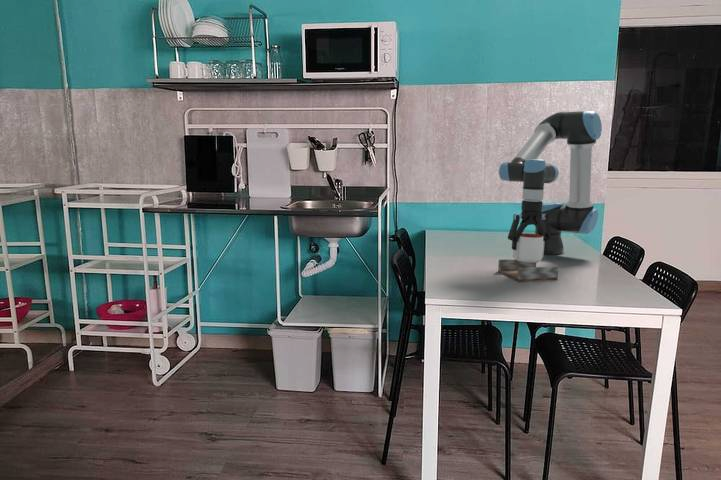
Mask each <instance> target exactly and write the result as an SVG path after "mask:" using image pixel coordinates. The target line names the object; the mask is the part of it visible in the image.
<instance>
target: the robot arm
mask: <svg viewBox="0 0 721 480" xmlns="http://www.w3.org/2000/svg"><path fill="white" fill-rule="evenodd" d="M602 126H603V125H602V120H601V117H600V115H599V113H597V112H596V111H591V110H590V111H588V110H583V111H582V110H580V111H579V110H578V111H577V110H576V111H575V110H574V111H560V112H555V113H553V114H551V115H549V116H547V117H546V118H544V119H543V120H542V121H541V122H539V124H538V125H536V126H535V129H534V131H533V134H532V136H531V137H530V138H529V139H528V141H527V142H526V143H525V144H524V145H523V147H522V148H521V149H520V150H519V151H518V153H517V154H516V155H515V156H514V158H512V160H511V161H505V162H502V163H501V164H500V166H499V168H498V175H499V178H500V180H502V181H506V182H517V183H519V182H521V183H523V184H522V195H521V196H522V197H521V199H523V200H521V206H520V207H521V212H520V214H513V218H512V219H513V220H512V223H511V226H510V229H509V233H508V235H507V240H510V241H511V250H512V251H513V252H512V259H518V255H519V242H518V239H519V238H520V236H521V234H522V233H523V232H524V231H525V230H526V228H527V227H528V226H531V225H532V226H535V229H534V234H538V235H542V236H543V249H542V259H543V258H544V255H562V254H564V249H565V247H564V244H563V240H562V232H564V233H574V234H579V235H581V234H582V235H589V234H591V233H592V232H593V231H594V229H595V228H596V225H597V223H598V217H599V212H598V209H596V208H594V202H592V201H591V183H592V182H591V179H592V177H591V176H592V158H593V157H592V156H593V155H592V153H593V151H592V150H593V147H594V146H595V144H597V140H598V139H600V137H601V135H602V130H603V129H602ZM559 139H561V140H566V144H567V145H568V146H569V147H570V155H569V156H570V159H569V160H570V161H569V163H570V165H569V170H570V171H569V194H568V195H569V196H568V197H569V198H568V199H569V200H568V201H567V202H566V203H565V204H564V202H547V203H546V202H545V203H543V200H544V187H545V184H551V183H553V182H555V181H556V180H557V178H558V177H559V169H558V167H557V166H556V165H554V164H552V163H546V160H545V159H541V158H539V157H540V156H541V154H542V153H543V152H544V150H545V149H546V147H547V146H548V145H549V144H551V143H553V142H554V141H555V140H559ZM520 220H521V221H520Z"/></svg>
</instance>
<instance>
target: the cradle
mask: <svg viewBox="0 0 721 480" xmlns="http://www.w3.org/2000/svg"><path fill="white" fill-rule="evenodd" d="M497 265H498V266H497V272H499V273H500V274H502V275H505V276H507V277H509V278H510V279H513V280H514V281H516V282H519V283H524V282H525V283H526V282H528V283H529V282H543V281H544V282H547V281H558V278H559V266H557V265H553V266H551V265H549V266H537V263H524V262H520V261H517V260H516V259H515V258H500V259H498V264H497Z"/></svg>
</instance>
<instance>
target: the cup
mask: <svg viewBox="0 0 721 480" xmlns="http://www.w3.org/2000/svg"><path fill="white" fill-rule="evenodd" d="M518 242H519V255H518V259H516V260H517V261H520V262H524V263H536V264H537V263H540V262H541V261H542V259H543V258H542V249H543V236H542V235H538V234H535V233H528V232H527V233H526V232H525V233H522V234H521V236H520V238H519V239H518Z"/></svg>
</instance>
